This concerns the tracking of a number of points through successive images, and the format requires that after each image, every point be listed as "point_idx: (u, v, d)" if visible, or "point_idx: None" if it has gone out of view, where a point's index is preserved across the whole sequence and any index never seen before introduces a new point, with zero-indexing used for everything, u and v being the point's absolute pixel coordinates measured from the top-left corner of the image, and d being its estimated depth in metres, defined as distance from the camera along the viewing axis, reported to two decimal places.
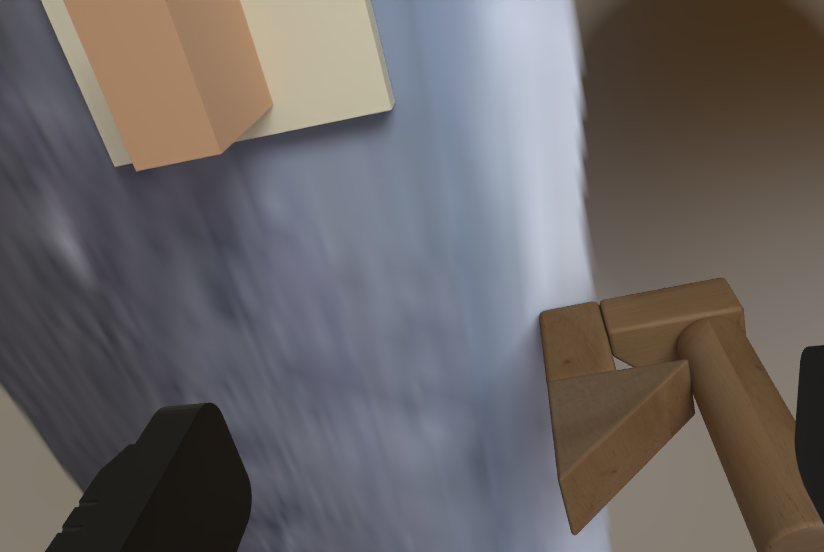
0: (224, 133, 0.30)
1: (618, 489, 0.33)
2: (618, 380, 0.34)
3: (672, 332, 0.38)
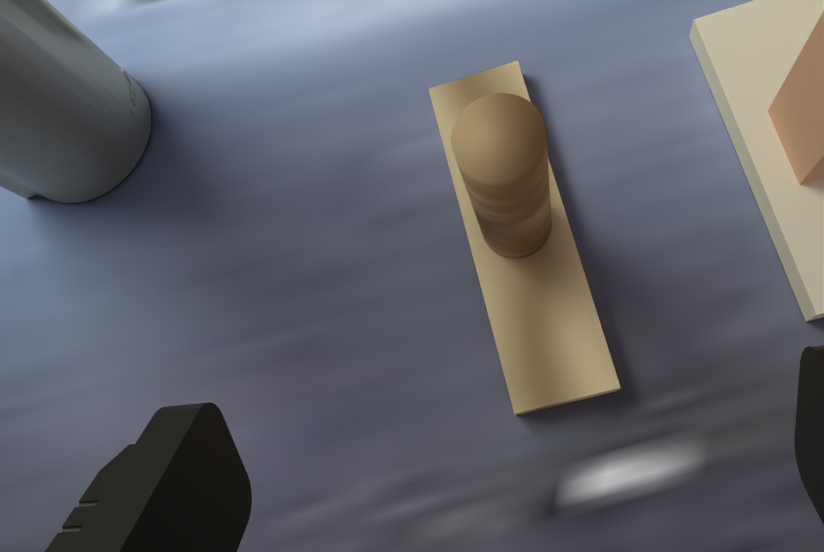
0: None
1: None
2: None
3: None
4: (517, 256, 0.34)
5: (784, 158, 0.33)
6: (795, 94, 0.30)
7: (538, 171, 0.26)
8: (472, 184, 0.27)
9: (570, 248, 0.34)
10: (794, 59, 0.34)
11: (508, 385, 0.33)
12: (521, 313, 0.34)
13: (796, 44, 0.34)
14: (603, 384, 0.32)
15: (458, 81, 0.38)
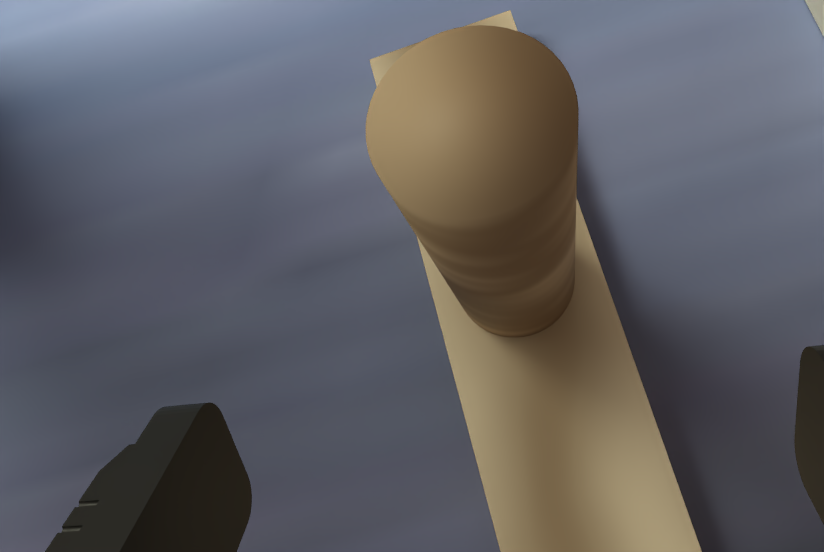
0: None
1: None
2: None
3: None
4: (517, 334, 0.20)
5: None
6: None
7: (560, 195, 0.12)
8: (418, 226, 0.12)
9: (609, 320, 0.20)
10: None
11: None
12: (527, 435, 0.20)
13: None
14: None
15: None
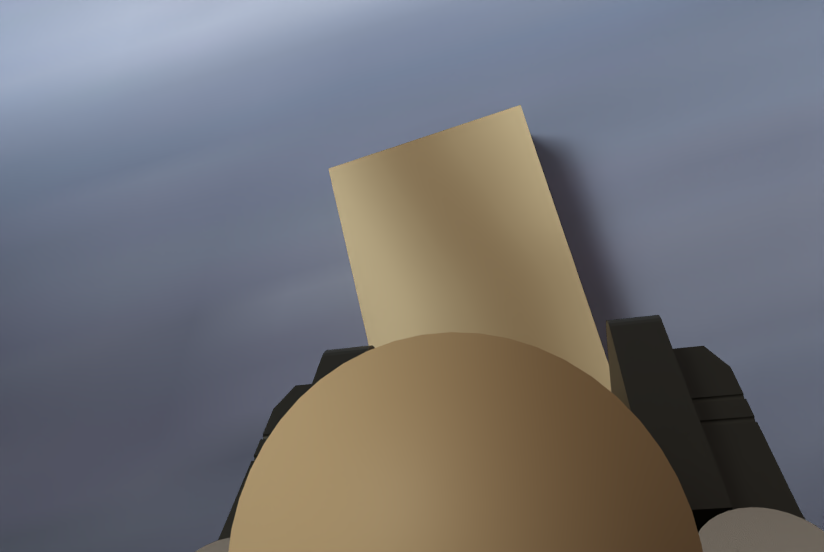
0: None
1: None
2: None
3: None
4: None
5: None
6: None
7: None
8: None
9: None
10: None
11: None
12: None
13: None
14: None
15: (392, 152, 0.17)
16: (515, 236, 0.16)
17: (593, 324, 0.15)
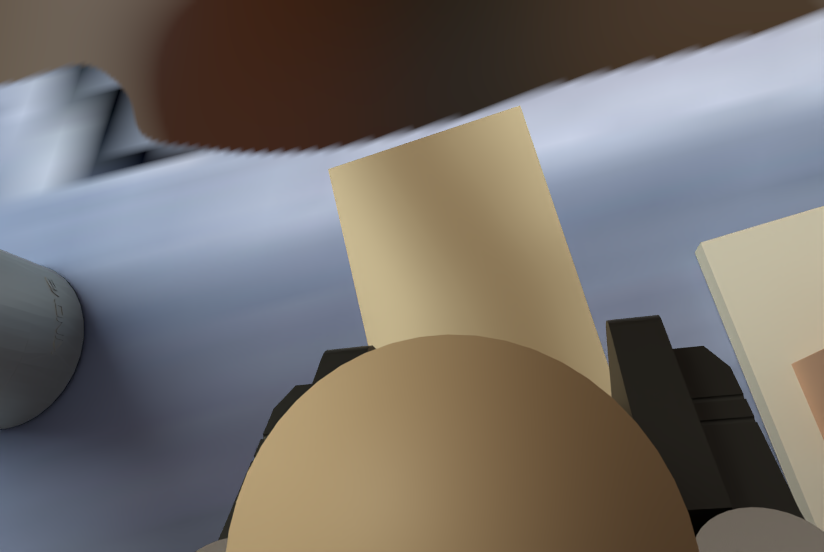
0: None
1: None
2: None
3: None
4: None
5: (813, 426, 0.28)
6: None
7: None
8: None
9: None
10: (820, 299, 0.29)
11: None
12: None
13: (822, 280, 0.29)
14: None
15: (391, 153, 0.17)
16: (514, 237, 0.16)
17: (592, 325, 0.15)
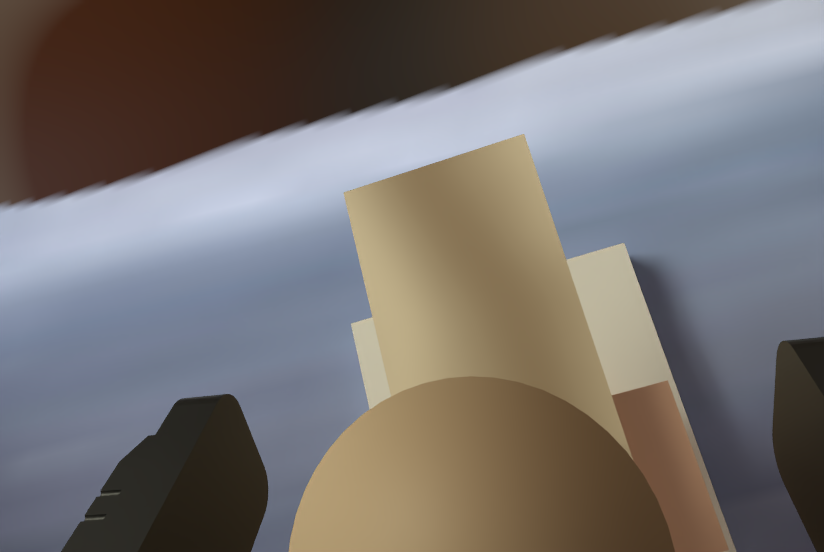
0: None
1: None
2: None
3: None
4: None
5: None
6: None
7: None
8: None
9: None
10: None
11: None
12: None
13: None
14: None
15: (403, 178, 0.18)
16: (518, 258, 0.17)
17: (591, 341, 0.16)
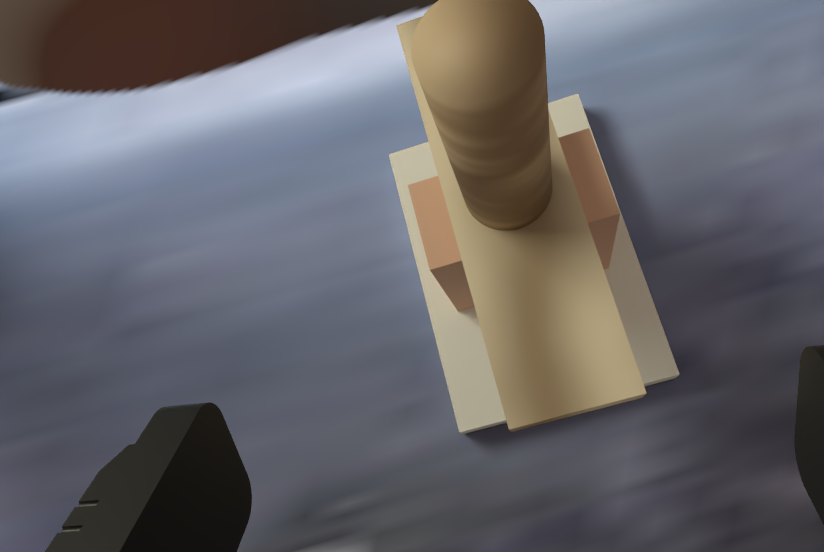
0: None
1: None
2: None
3: None
4: (509, 226, 0.27)
5: None
6: None
7: (534, 93, 0.19)
8: (443, 115, 0.19)
9: (577, 216, 0.27)
10: None
11: (500, 392, 0.26)
12: (515, 299, 0.26)
13: None
14: (623, 389, 0.25)
15: None
16: None
17: None
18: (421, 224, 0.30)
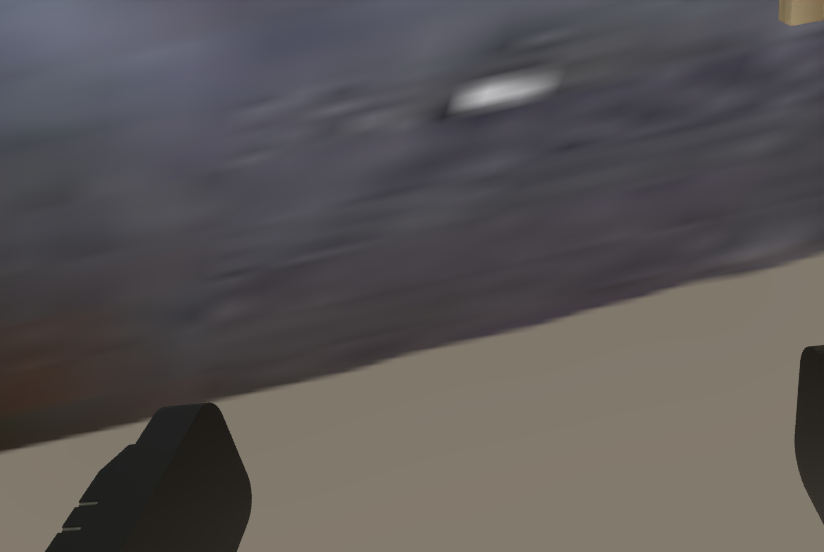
0: None
1: None
2: None
3: None
4: None
5: None
6: None
7: None
8: None
9: None
10: None
11: None
12: None
13: None
14: None
15: None
16: None
17: None
18: None
